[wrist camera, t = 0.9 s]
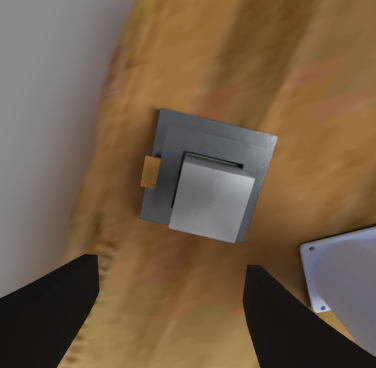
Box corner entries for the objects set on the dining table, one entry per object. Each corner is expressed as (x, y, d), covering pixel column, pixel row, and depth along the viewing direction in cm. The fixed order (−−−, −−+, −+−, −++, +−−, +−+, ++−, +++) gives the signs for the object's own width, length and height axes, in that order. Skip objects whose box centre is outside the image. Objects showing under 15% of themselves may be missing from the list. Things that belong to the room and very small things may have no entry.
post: (234, 162, 18) (256, 178, 11) (221, 207, 19) (235, 244, 12) (187, 151, 18) (183, 160, 11) (176, 196, 18) (167, 228, 12)
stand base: (273, 136, 18) (291, 136, 15) (240, 237, 20) (250, 257, 17) (162, 109, 18) (155, 103, 15) (141, 214, 20) (131, 230, 17)
